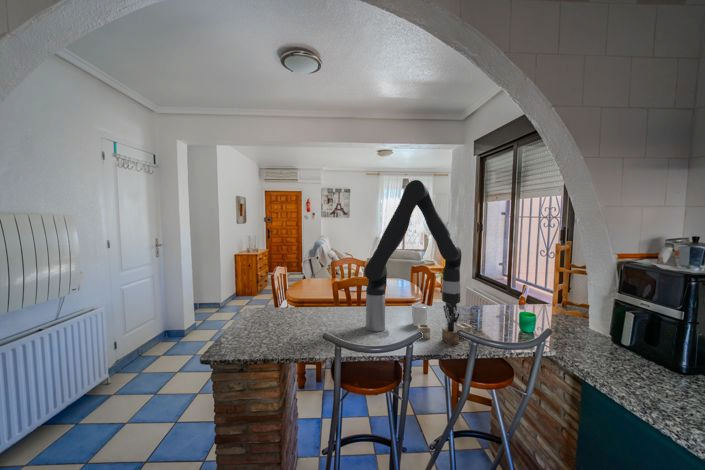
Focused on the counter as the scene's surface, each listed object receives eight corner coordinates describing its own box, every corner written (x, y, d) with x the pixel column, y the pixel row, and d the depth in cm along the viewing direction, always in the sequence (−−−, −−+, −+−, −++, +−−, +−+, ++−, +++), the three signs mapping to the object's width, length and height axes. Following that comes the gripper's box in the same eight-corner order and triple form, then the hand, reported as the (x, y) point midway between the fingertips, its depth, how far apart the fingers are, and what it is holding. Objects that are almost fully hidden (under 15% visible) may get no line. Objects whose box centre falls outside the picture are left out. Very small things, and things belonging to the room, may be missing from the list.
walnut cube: (448, 344, 118) (448, 333, 118) (442, 339, 123) (442, 328, 123) (458, 343, 119) (458, 332, 119) (452, 339, 124) (452, 328, 124)
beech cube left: (418, 338, 124) (418, 327, 124) (417, 334, 129) (417, 323, 129) (430, 339, 124) (430, 327, 124) (428, 334, 129) (428, 324, 129)
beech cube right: (463, 338, 125) (463, 327, 125) (456, 334, 130) (456, 323, 130) (472, 337, 126) (472, 326, 126) (465, 333, 131) (465, 322, 131)
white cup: (423, 328, 136) (424, 308, 136) (409, 325, 141) (409, 305, 141) (429, 324, 142) (430, 305, 142) (415, 321, 147) (415, 302, 147)
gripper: (437, 287, 127) (437, 325, 127) (448, 294, 114) (447, 336, 114) (453, 287, 127) (453, 325, 127) (466, 294, 114) (465, 336, 114)
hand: (450, 330), depth 121 cm, fingers closed
